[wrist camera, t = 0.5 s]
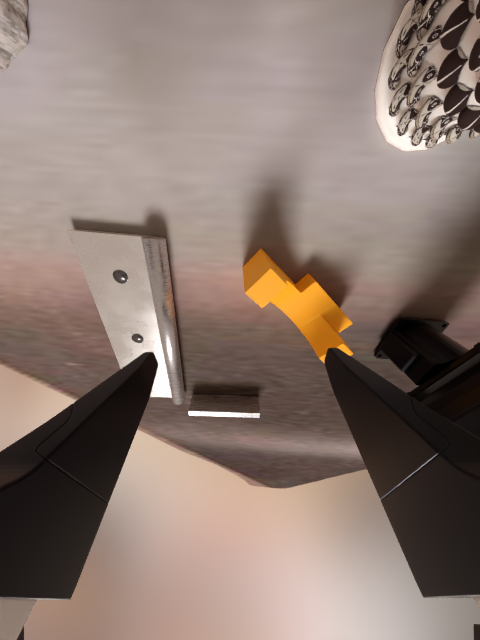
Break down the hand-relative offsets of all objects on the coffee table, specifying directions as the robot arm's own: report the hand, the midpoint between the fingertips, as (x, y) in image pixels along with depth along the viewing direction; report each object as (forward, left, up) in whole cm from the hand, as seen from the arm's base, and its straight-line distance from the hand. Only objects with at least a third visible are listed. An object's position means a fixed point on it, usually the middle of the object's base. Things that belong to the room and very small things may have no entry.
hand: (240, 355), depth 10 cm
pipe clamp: (-6, +1, -12) cm, 14 cm away
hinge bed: (+8, +9, -12) cm, 17 cm away
